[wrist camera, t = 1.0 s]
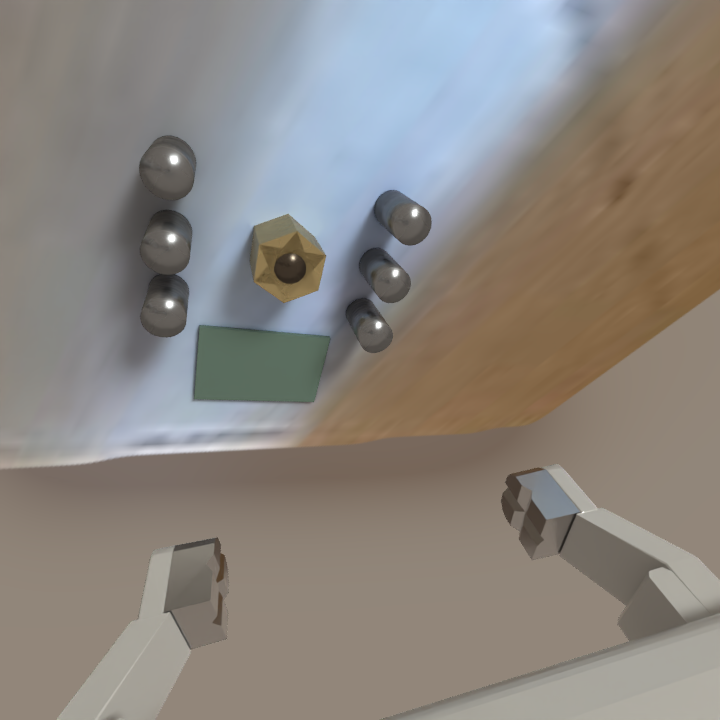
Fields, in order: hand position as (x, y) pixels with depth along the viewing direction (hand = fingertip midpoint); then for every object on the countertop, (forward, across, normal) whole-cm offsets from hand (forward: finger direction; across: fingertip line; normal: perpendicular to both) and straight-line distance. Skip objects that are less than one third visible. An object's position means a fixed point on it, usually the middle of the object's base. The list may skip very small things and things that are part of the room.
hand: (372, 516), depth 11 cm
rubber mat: (+28, +4, +13) cm, 31 cm away
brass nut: (+28, 0, +1) cm, 28 cm away
